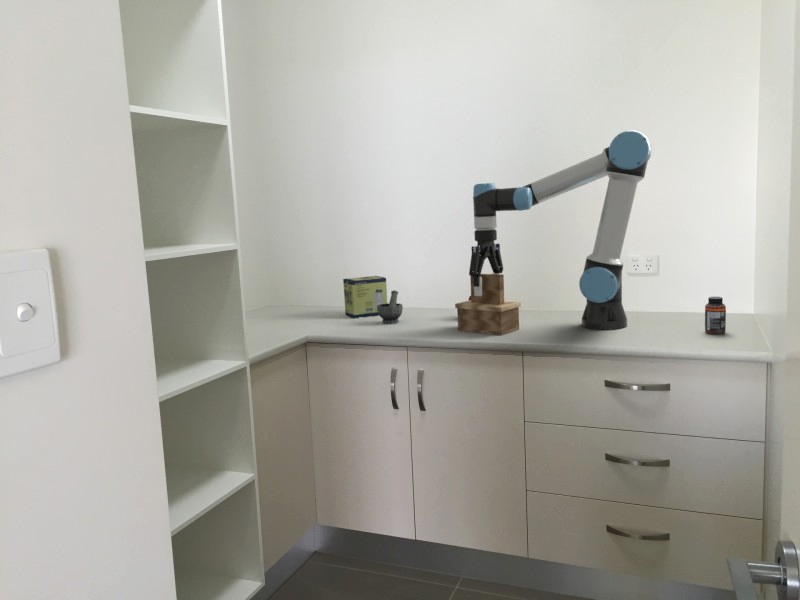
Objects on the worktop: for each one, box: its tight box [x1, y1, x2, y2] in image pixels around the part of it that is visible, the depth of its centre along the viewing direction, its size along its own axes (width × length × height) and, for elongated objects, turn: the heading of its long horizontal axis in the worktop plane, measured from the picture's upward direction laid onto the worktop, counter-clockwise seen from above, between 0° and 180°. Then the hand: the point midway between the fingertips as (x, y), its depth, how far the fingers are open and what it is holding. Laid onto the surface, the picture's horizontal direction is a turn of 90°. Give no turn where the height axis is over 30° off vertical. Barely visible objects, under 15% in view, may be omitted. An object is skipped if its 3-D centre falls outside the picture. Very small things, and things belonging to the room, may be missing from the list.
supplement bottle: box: [704, 296, 727, 335], centre depth 212 cm, size 6×6×11 cm
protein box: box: [342, 275, 388, 319], centre depth 280 cm, size 10×16×16 cm
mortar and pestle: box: [377, 290, 404, 325], centre depth 259 cm, size 11×9×12 cm
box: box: [456, 307, 520, 336], centre depth 234 cm, size 18×11×8 cm, turn 49°
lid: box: [454, 273, 521, 312], centre depth 233 cm, size 19×12×12 cm, turn 49°
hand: (487, 293), depth 233 cm, fingers open, 10 cm apart
